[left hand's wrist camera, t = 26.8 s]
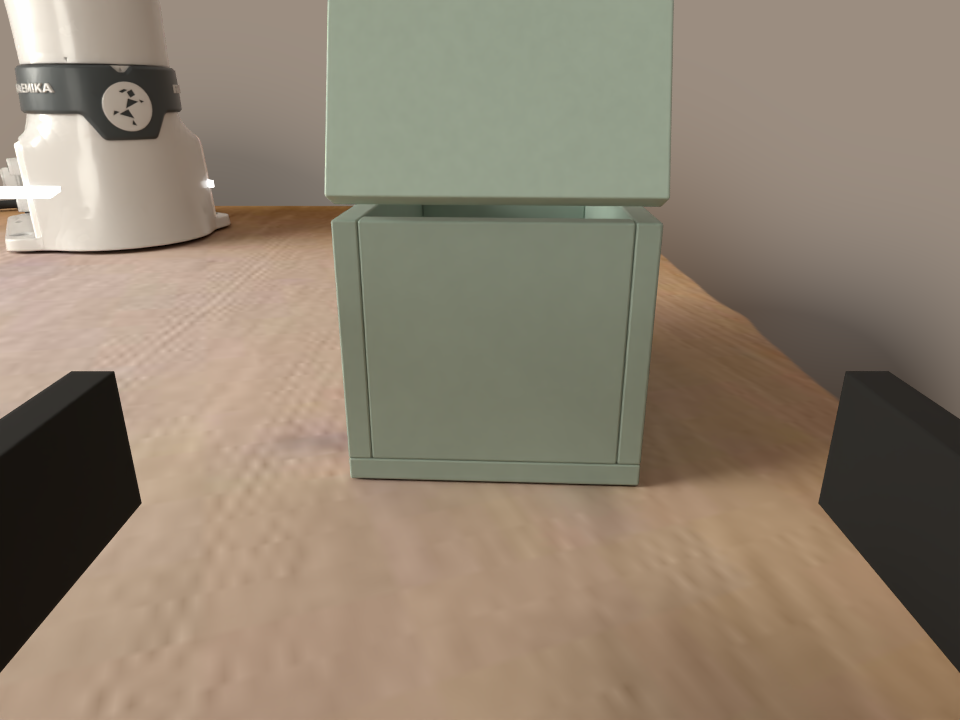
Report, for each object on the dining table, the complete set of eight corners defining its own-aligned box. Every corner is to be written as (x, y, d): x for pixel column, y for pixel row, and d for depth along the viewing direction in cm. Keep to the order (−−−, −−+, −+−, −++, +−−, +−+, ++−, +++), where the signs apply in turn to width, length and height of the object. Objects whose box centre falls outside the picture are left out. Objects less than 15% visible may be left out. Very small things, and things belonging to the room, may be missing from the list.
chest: (413, 333, 37) (408, 169, 34) (591, 336, 36) (601, 170, 33) (350, 478, 23) (330, 220, 20) (638, 486, 22) (663, 223, 19)
